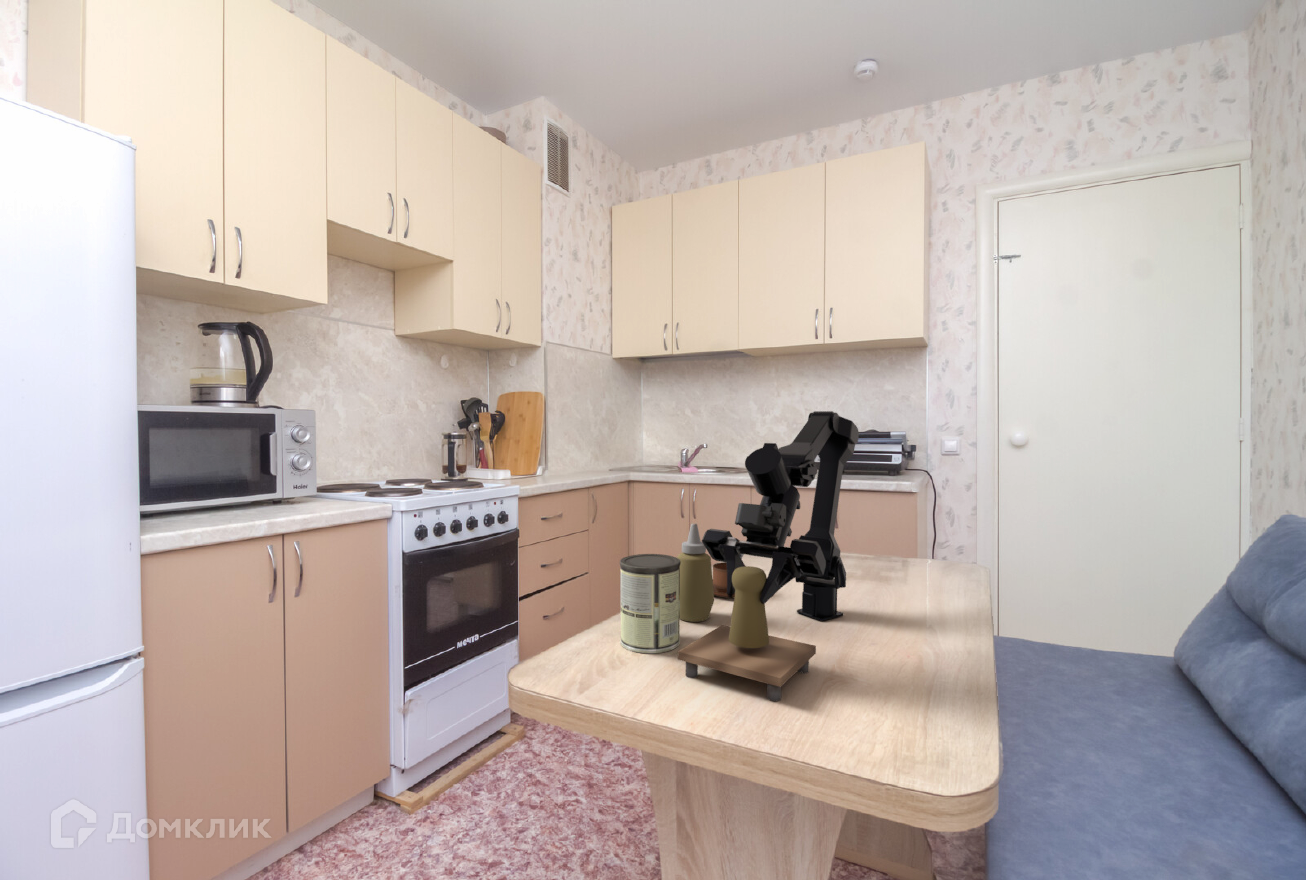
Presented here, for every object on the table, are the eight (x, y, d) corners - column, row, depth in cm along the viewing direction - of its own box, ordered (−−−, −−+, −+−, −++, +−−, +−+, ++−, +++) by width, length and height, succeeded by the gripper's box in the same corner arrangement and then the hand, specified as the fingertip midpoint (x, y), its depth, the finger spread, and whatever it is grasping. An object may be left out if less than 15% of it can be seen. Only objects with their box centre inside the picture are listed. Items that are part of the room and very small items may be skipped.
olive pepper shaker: (775, 638, 92) (775, 566, 91) (760, 651, 86) (760, 575, 86) (738, 630, 95) (738, 561, 94) (721, 642, 90) (722, 569, 89)
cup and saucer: (725, 583, 141) (725, 557, 141) (768, 594, 132) (768, 566, 132) (690, 593, 132) (690, 565, 132) (734, 606, 124) (734, 576, 124)
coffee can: (632, 628, 109) (632, 551, 109) (687, 635, 106) (687, 556, 106) (609, 649, 100) (610, 564, 99) (669, 657, 96) (670, 570, 96)
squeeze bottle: (669, 611, 119) (670, 520, 119) (710, 610, 120) (711, 520, 119) (674, 625, 111) (675, 528, 111) (718, 624, 112) (719, 528, 111)
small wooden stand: (677, 676, 89) (677, 651, 89) (721, 646, 101) (721, 625, 101) (780, 705, 80) (780, 678, 80) (815, 669, 92) (815, 645, 92)
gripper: (707, 479, 98) (671, 560, 89) (820, 487, 88) (791, 579, 79) (729, 520, 105) (697, 599, 96) (836, 532, 95) (811, 621, 86)
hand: (745, 599), depth 89 cm, fingers closed on olive pepper shaker, 5 cm apart
